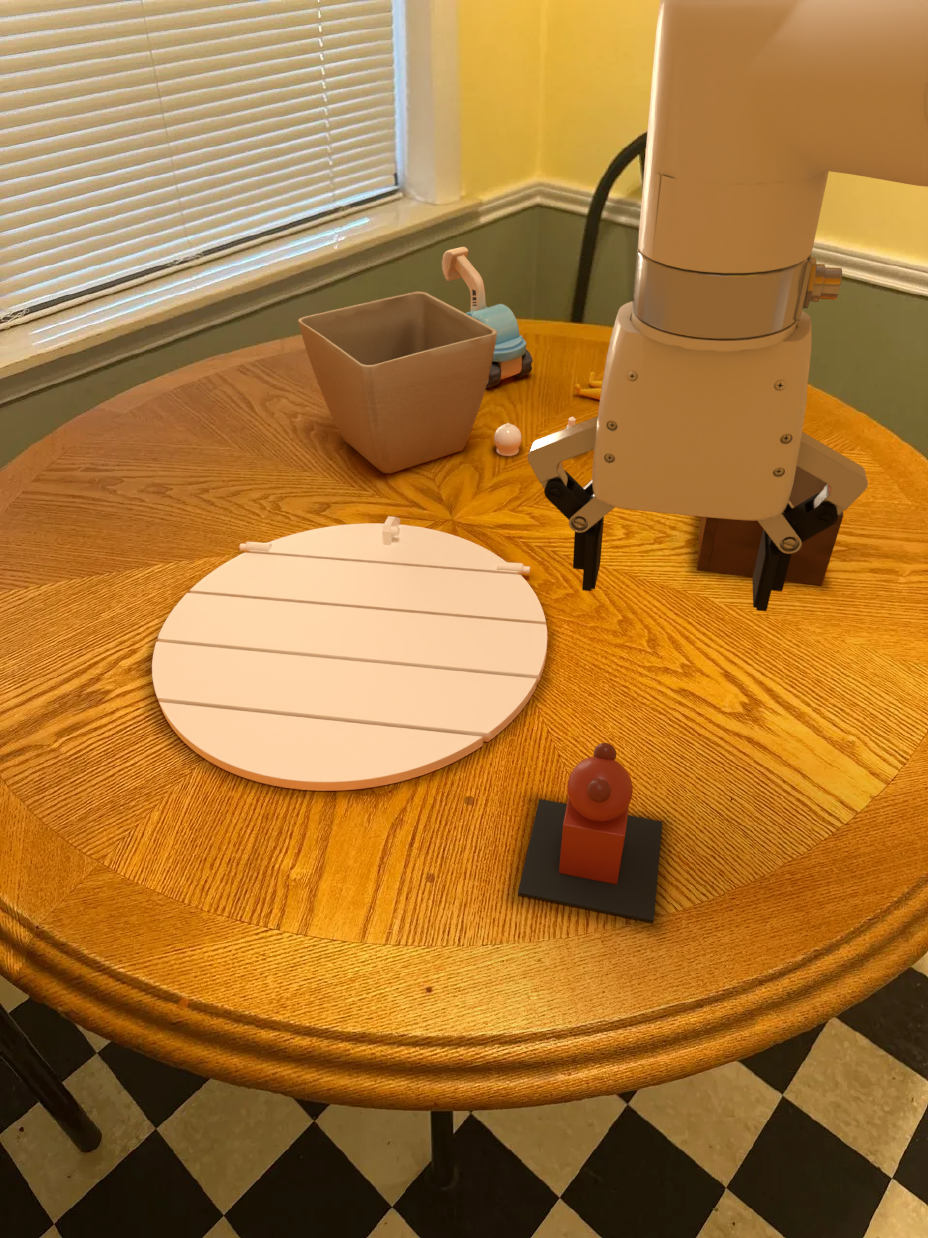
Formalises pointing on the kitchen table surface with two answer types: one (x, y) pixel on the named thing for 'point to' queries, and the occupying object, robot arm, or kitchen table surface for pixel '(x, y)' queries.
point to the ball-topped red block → (596, 817)
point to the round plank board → (350, 656)
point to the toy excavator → (490, 320)
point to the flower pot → (401, 376)
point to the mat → (620, 899)
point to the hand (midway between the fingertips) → (673, 586)
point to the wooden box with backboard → (739, 541)
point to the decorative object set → (513, 438)
